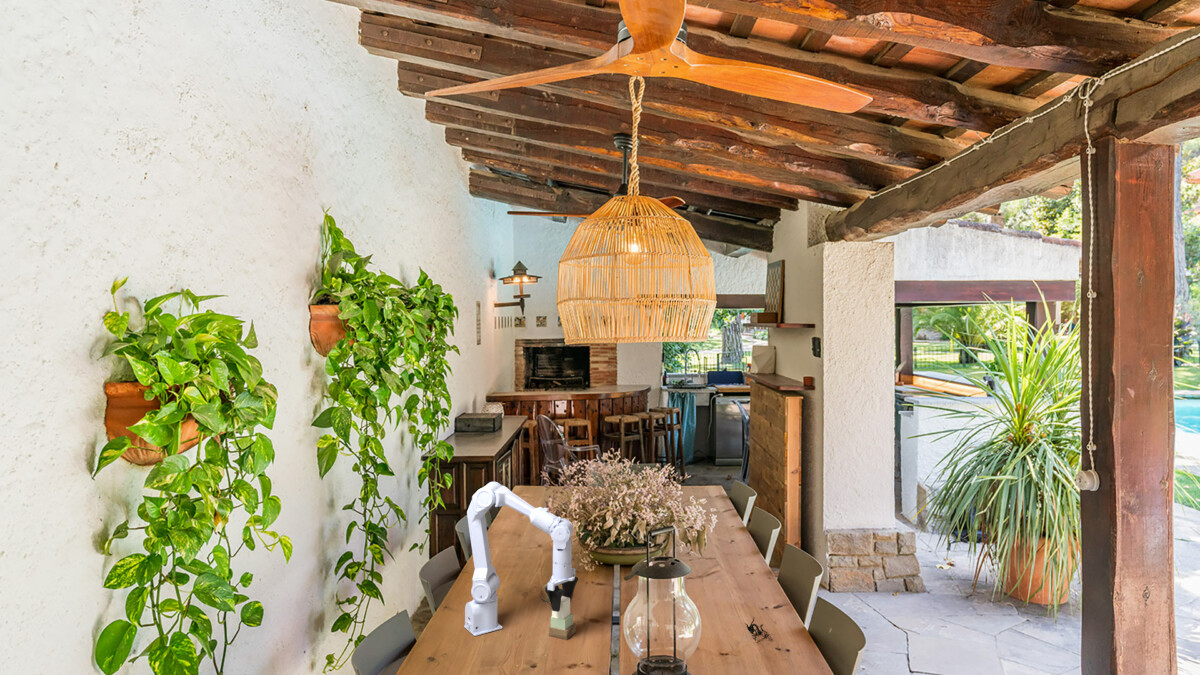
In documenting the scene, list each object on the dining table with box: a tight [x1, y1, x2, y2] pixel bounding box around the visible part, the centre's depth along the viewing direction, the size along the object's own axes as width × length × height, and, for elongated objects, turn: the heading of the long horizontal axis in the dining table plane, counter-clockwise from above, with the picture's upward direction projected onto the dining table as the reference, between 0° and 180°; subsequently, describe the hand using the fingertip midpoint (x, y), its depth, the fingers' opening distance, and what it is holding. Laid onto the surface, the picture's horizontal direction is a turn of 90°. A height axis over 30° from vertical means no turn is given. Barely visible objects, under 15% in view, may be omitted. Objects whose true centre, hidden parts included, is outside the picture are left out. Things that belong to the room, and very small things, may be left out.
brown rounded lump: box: [539, 580, 563, 603], centre depth 227 cm, size 10×10×8 cm
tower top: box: [550, 612, 574, 630], centre depth 199 cm, size 5×5×3 cm
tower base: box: [548, 622, 577, 641], centre depth 199 cm, size 6×6×3 cm
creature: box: [744, 618, 772, 642], centre depth 198 cm, size 8×5×8 cm
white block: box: [551, 596, 571, 619], centre depth 199 cm, size 4×4×5 cm
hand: (561, 606), depth 199 cm, fingers open, 7 cm apart
